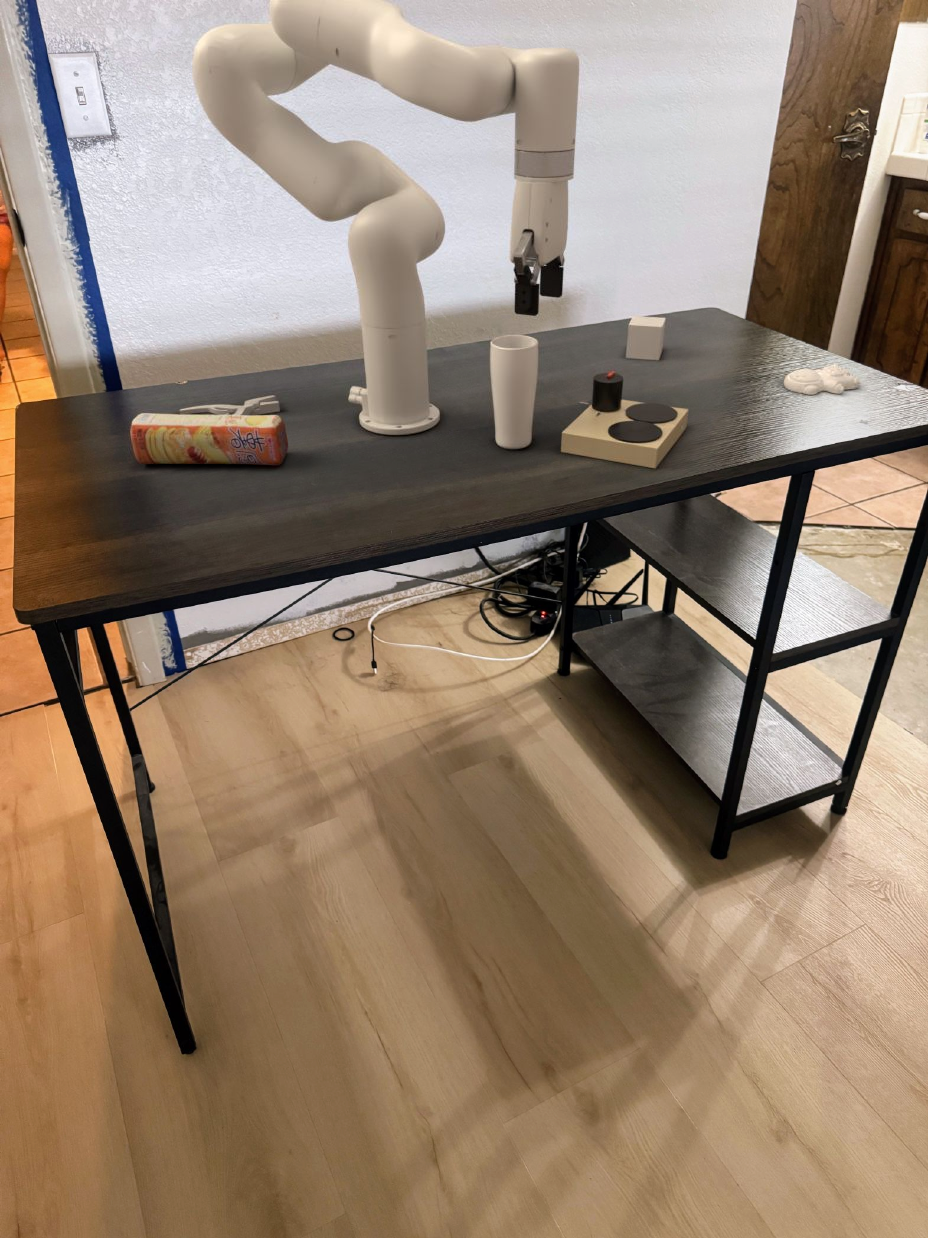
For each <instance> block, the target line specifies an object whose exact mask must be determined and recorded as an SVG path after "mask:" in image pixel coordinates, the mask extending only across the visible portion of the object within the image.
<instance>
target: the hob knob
mask: <svg viewBox="0 0 928 1238" xmlns="http://www.w3.org/2000/svg"><path fill="white" fill-rule="evenodd" d="M623 389H624V377H623V376H622V374H619V373H616V371H613V370H612V371H610V372H602V373H598V374H595V375H593V377H592V395H591V396H592V397H591V404H592V408H593V409H594V410H597V411H601V412H614V411H617V410H619V409H620V408H621V402H622V400H623Z"/></svg>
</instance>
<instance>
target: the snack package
mask: <svg viewBox="0 0 928 1238" xmlns="http://www.w3.org/2000/svg"><path fill="white" fill-rule="evenodd" d="M130 441H131V444H132V449H133V453H134V456H135V459H136V461H137V462H138V463H139V464H141V465H158V464H159V465H160V464H161V465H162V464H163V465H165V464H168V465H196V464H197V465H223V464H224V465H261V466H262V465H263V466H265V465H266V466H280V465H282V463H284V460H285V458H286V455H287V453H288V449H289V440H288V436H287V429H286V425H285V422H284V421H283V419H282V417H281V416H280V415H276V414H269V415H267V414H266V415H265V414H258V415H248V416H247V415H233V414H230V415H218V414H183V415H181V414H178V413H177V414H176V413H174V414H173V413H151V412H148V413H147V412H141V413H140V414H137V415H136V417H135V418H133V420H132V421H131V425H130Z"/></svg>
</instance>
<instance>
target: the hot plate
mask: <svg viewBox="0 0 928 1238" xmlns="http://www.w3.org/2000/svg"><path fill="white" fill-rule="evenodd" d="M641 403H642V402H640V401H636V400H635V401H634V400H627V399H622V402H621V408H620V409H619V410H617V411H614V412H601V411H597V410H594V409H593V408H592V403H591V404H590V403H589V402H584V401H579V402H578V404H579V405H586V406H587V408H586V409H585V410H584V411H583V412H582V413H581V414H580V415H579V416H577V417H576V418H575V420H573V421H572V422H571V423H570V424H569V425H568V426H567V427H566V428H565V429H564V430H563V431H562V432H561V442H560V443H561V444H560V445H561V446H560V452H561V453H565V454H570V455H576V456H582V457H587V458H593V459H598V460H604V461H610V462H616V463H622V464H627V465H631V466H632V465H634V466H638V467H644V468H649V469H657V468H658V466H659V464H661V462H662V461H663V459H664V458H665V456H667V454H668V453H669V451H670V450H672V447H673V446H674V445H675V443H676V442H677V441H678V440H679V438H680V437H681V436H682V434H683V433H685V430H686V429H687V424H688V418H689V408H681V407H676V406H675V407H673V406H671V407H672V408H674V409H675V410H676V411H677V412H678V416H677V418H676V419H675V420H673V421H670V422H667V423H660V424H654V425H657V426H658V427H660V428H661V429H662V432H663V433H662V436H661V438H659V439H658V440H656V441H653V442H648V443H628V442H623V441H619V440H616V439H614V438H612V437H611V436H610V435H609V434H608V428H609V427H610V426H611V425H613V424H615V423H618V422H623V421H634V420H632V419H630V418H628V417H627V416H626V414H625V411H626V409H627V408H628V407H630V406H632V405H635V404H641ZM589 404H590V405H589ZM588 405H589V406H588Z"/></svg>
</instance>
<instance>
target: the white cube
mask: <svg viewBox="0 0 928 1238" xmlns="http://www.w3.org/2000/svg"><path fill="white" fill-rule="evenodd" d="M666 319H667V318H666V317H660V316H659V317H655V316H639V315H633V316H632V317H631V319H630V321H629V323H628V328H627V337H626V338H627V339H626V351H625V359H633V360H634V359H636V360H646V361H647V360H648V361H649V360H650V361H660V358H661V355H662V352H663V349H664V347H663V346H664V339H665V329H666Z"/></svg>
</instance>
